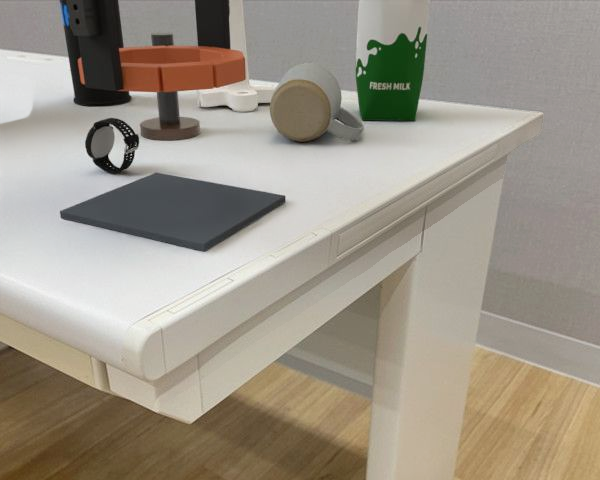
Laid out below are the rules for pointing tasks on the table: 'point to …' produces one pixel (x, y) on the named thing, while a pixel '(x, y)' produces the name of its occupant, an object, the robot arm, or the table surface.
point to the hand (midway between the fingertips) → (165, 75)
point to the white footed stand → (241, 92)
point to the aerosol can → (81, 93)
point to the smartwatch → (110, 144)
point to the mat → (175, 210)
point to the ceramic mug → (311, 106)
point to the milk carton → (390, 57)
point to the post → (168, 109)
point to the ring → (178, 68)
